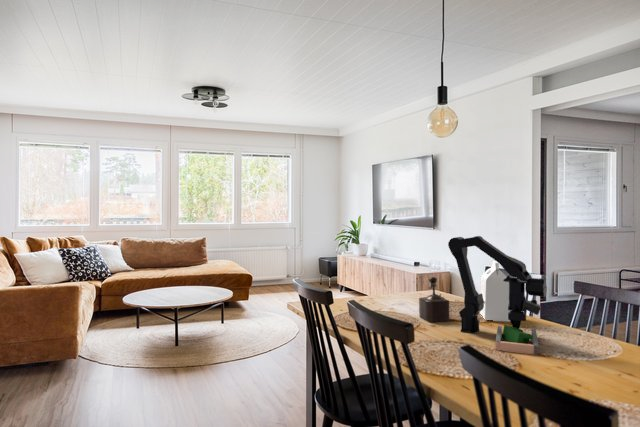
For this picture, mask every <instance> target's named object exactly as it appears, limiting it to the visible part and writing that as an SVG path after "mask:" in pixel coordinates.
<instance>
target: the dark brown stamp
mask: <svg viewBox="0 0 640 427" xmlns="http://www.w3.org/2000/svg"><path fill="white" fill-rule="evenodd" d="M437 279H438V278H437V277H435V276H434V277H433V276H432V277H430V278H429V279H428V281H429V283H430V286H429V287H427V289H428V290H432V294H430V295H428V296H425V297H419V298H418V301H419V302H418V306H419V307H418V309H419V310H418V311H419V319H421V320H424V321H425V322H427V323H442V322H444V323H445V322H450V300H448V299H446V298H445V297H444V296H442V294H441V293H440V294H437V293H436V287H437V284H436V283H437V282H438V280H437Z"/></svg>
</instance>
